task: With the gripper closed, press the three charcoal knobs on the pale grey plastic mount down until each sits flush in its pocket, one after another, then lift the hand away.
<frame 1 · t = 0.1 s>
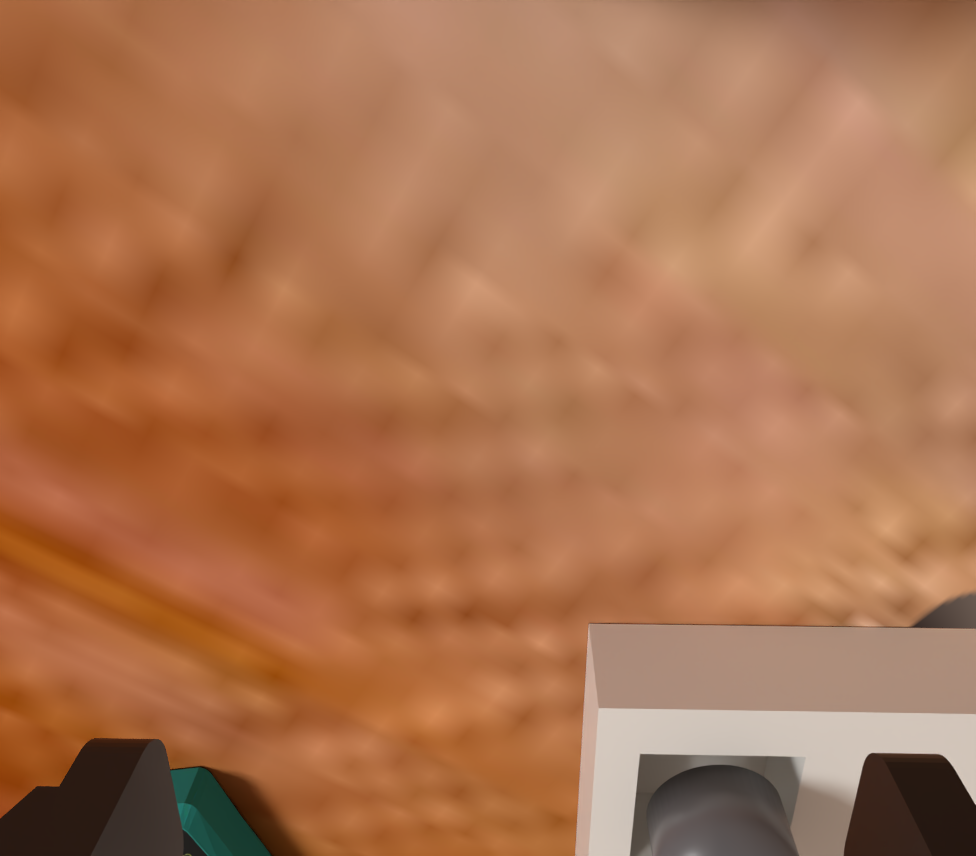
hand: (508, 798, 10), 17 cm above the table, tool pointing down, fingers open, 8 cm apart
knob mount: (788, 844, 35), on the table
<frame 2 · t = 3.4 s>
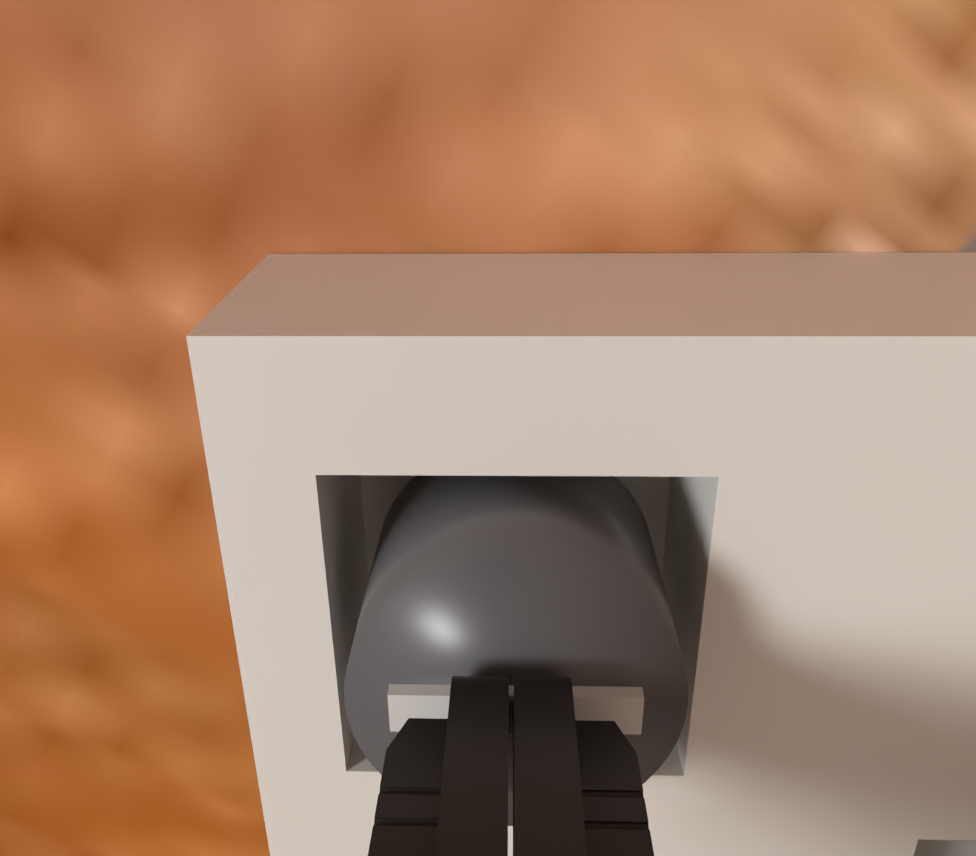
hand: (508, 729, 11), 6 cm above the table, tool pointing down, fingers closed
knob 1: (514, 629, 13), point 4 cm above the table, slide at 1.9 cm, touching gripper
knob mount: (725, 765, 19), on the table
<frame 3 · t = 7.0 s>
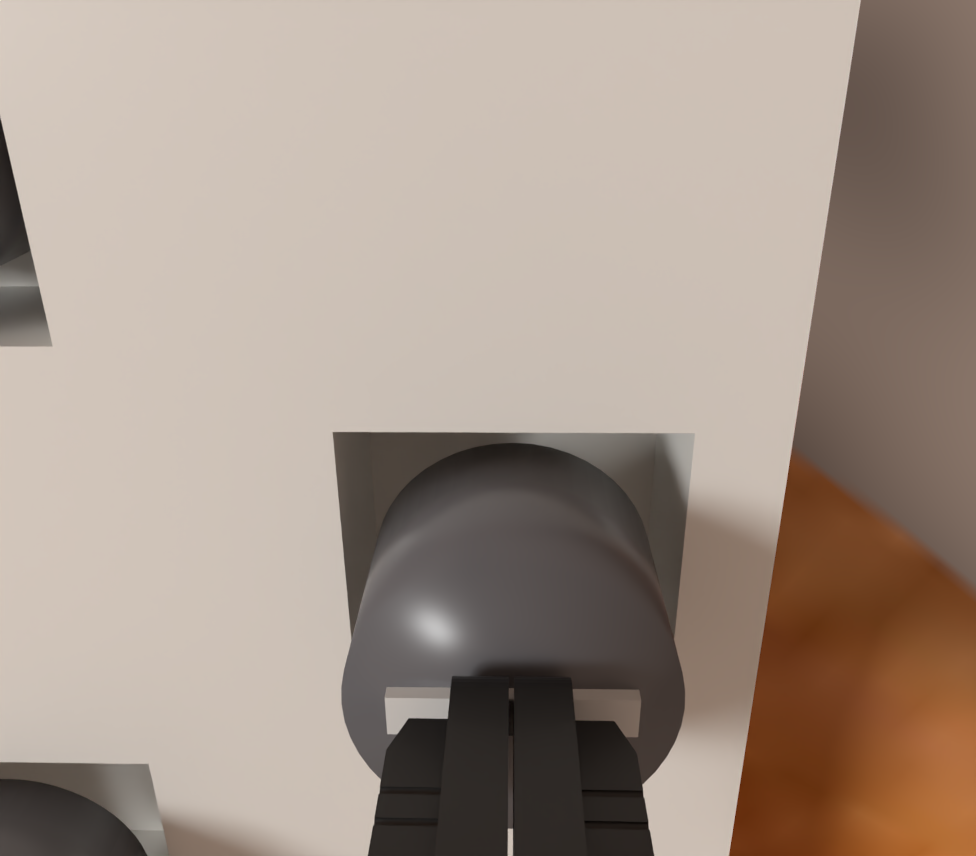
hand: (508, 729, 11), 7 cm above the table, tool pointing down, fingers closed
knob 2: (512, 632, 13), point 5 cm above the table, slide at 0.5 cm, touching gripper
knob mount: (284, 463, 18), on the table
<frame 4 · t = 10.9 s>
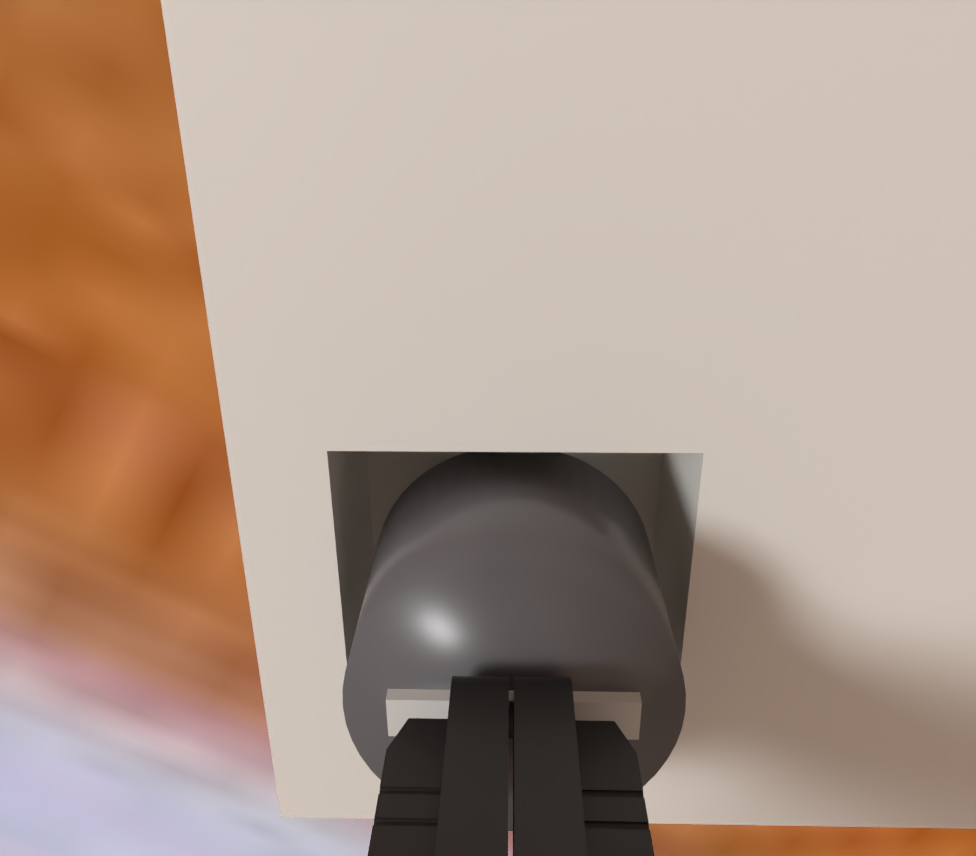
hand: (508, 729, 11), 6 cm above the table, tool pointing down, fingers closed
knob mount: (798, 121, 14), on the table
knob 3: (513, 634, 13), point 5 cm above the table, slide at 1.0 cm, touching gripper
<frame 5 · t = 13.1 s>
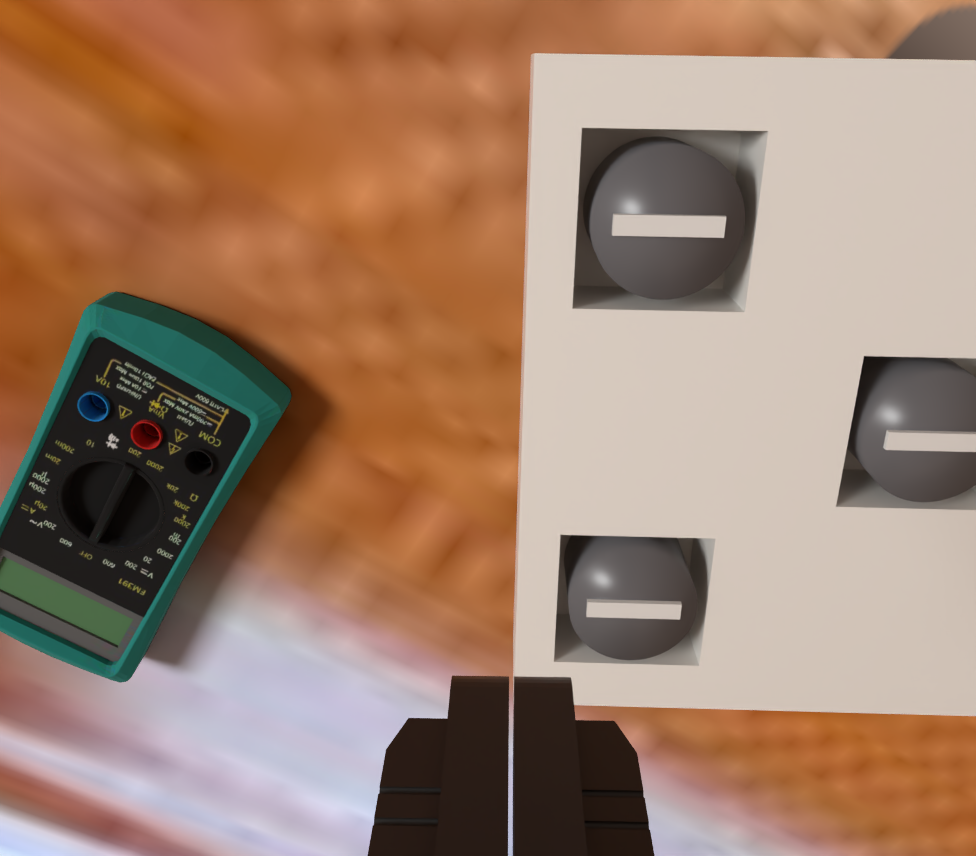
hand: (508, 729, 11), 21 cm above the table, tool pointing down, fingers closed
knob 1: (659, 216, 27), point 3 cm above the table, slide at 2.9 cm
knob 2: (916, 421, 29), point 3 cm above the table, slide at 2.9 cm
knob mount: (757, 389, 32), on the table
knob 3: (627, 583, 32), point 3 cm above the table, slide at 2.9 cm
digital multimeter: (135, 481, 35), on the table
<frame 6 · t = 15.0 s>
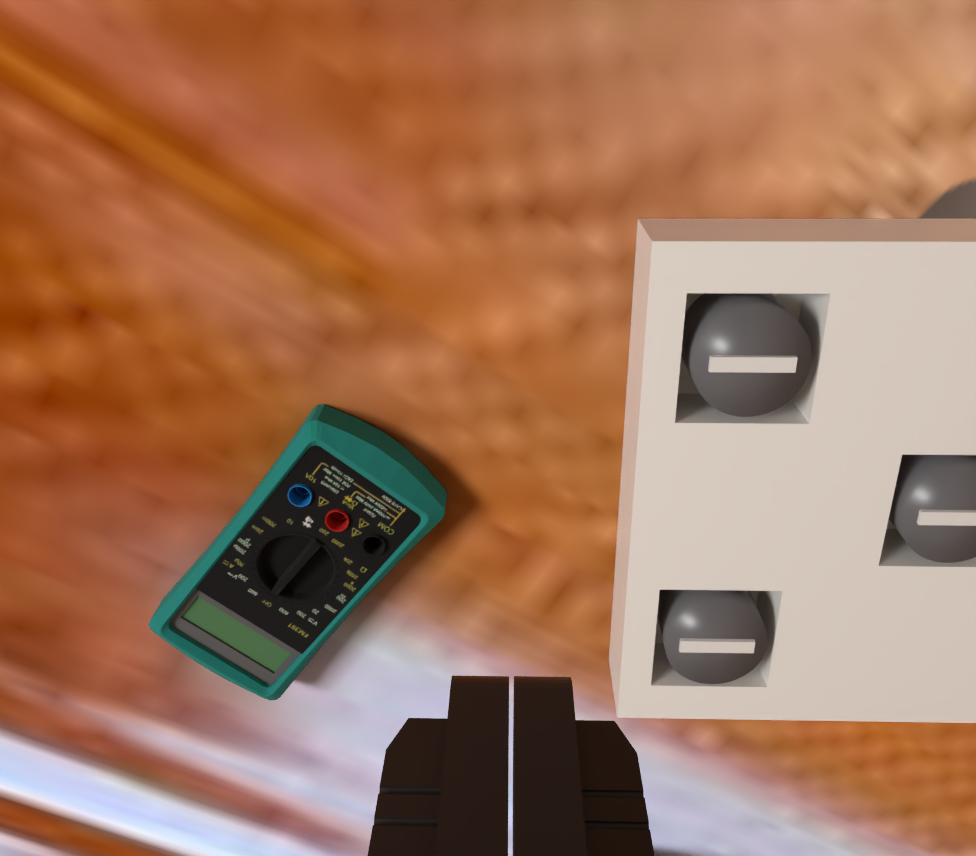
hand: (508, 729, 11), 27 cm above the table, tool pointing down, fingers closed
knob 1: (742, 349, 34), point 3 cm above the table, slide at 2.9 cm
knob 2: (942, 498, 37), point 3 cm above the table, slide at 2.9 cm
knob mount: (812, 466, 40), on the table
knob 3: (709, 623, 40), point 3 cm above the table, slide at 2.9 cm
digital multimeter: (302, 542, 43), on the table
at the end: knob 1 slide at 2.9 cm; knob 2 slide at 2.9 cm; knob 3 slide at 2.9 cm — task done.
